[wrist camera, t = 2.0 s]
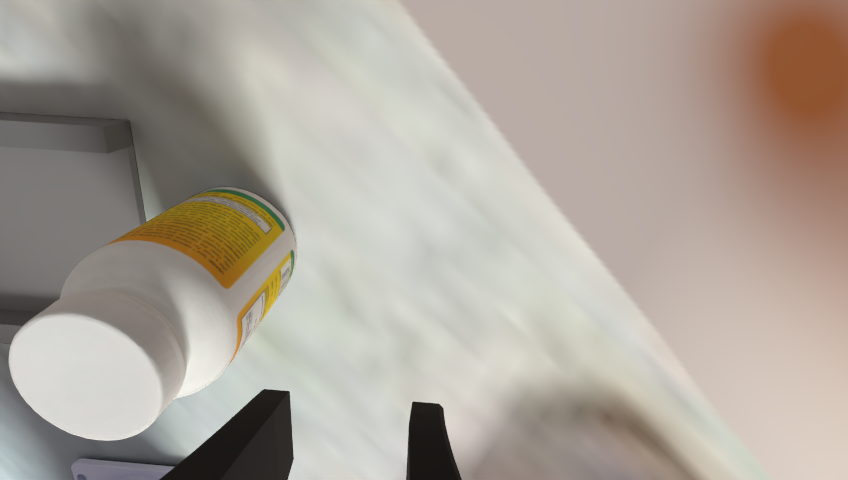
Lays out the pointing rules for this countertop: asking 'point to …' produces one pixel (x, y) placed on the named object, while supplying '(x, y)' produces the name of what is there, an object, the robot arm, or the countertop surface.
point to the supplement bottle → (154, 314)
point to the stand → (59, 204)
